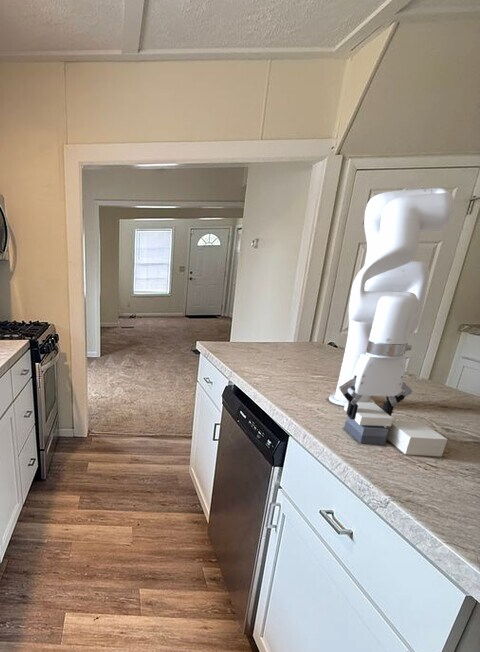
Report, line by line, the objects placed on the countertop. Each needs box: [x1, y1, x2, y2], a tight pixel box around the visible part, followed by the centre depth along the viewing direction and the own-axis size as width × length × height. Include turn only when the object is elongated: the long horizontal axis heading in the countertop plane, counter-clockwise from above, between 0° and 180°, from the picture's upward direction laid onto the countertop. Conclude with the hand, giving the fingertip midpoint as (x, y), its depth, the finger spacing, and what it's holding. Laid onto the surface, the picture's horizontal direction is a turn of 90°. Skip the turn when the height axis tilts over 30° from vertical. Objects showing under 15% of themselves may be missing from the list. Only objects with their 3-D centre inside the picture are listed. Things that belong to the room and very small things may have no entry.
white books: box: [385, 420, 448, 458], centre depth 97 cm, size 11×8×4 cm
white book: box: [343, 402, 394, 427], centre depth 103 cm, size 11×7×2 cm, turn 169°
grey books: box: [343, 416, 388, 446], centre depth 103 cm, size 11×6×4 cm, turn 169°
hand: (367, 417), depth 103 cm, fingers closed on white book, 7 cm apart
